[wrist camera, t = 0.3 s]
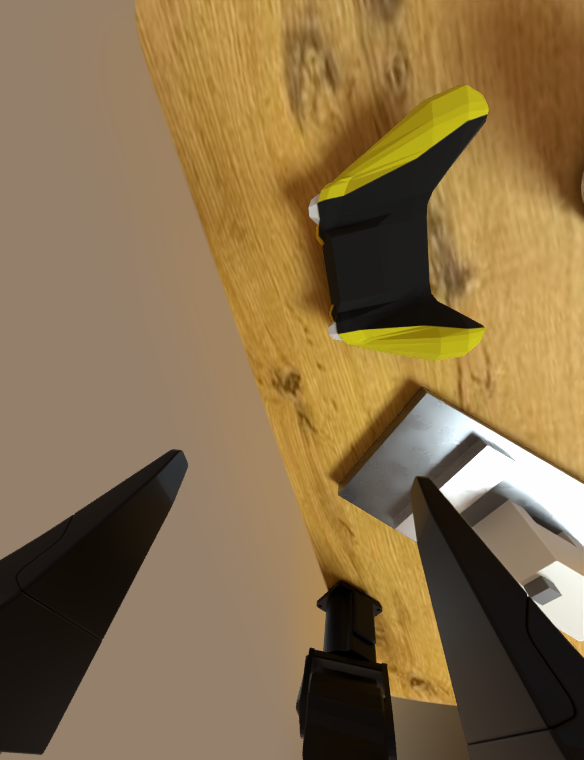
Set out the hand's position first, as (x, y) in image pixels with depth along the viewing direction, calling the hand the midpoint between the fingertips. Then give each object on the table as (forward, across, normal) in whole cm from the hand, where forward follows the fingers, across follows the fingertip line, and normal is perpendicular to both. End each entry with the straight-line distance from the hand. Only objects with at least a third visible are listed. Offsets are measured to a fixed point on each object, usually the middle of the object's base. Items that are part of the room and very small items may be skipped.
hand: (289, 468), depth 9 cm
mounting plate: (+11, -15, +16) cm, 25 cm away
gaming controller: (+17, -5, -5) cm, 18 cm away
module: (+9, -19, +18) cm, 28 cm away
